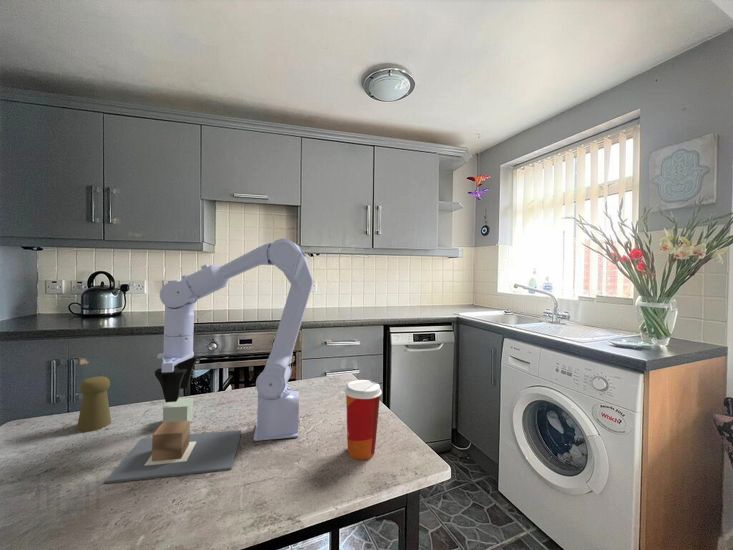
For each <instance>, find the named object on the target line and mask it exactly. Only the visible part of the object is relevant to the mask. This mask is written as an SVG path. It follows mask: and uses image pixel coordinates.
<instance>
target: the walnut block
mask: <svg viewBox="0 0 733 550" xmlns="http://www.w3.org/2000/svg"><path fill="white" fill-rule="evenodd" d="M190 424H191V422H190V421H177V422H163V421H162V423H161V424H160V425H159V426H158V428H157V429H156V430H155V431H154V433H153V434H152V437H151V438H152V461H161V460H172V459H181V458H182V456H183V455H184V453H185V451H186V449H187V447H188V446H189V434H190V427H191V426H190Z"/></svg>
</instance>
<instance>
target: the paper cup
mask: <svg viewBox="0 0 733 550" xmlns="http://www.w3.org/2000/svg"><path fill="white" fill-rule="evenodd" d="M344 393H345V396H346V403H345V404H346V433H347V434H346V437H347V454H348V456H349V455H350V456H349V457H351V458H352V459H354V458H355V460H357V461H359V460H360V461H363V459H366V460H369V459H371V458H372V457H374V455H375V450H376V443H377V433H378V432H377V431H378V422H379V411H380V410H379V409H380V400H381V399H380V398H381V395H382V394H383V393H382V389H381V386H380V384H379V383H376V382H374V381H372V380H368V379H356V380H353V381H349V382H348V383H347V385H346V388H345V389H344ZM370 457H371V458H370ZM368 458H369V459H368Z"/></svg>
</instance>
